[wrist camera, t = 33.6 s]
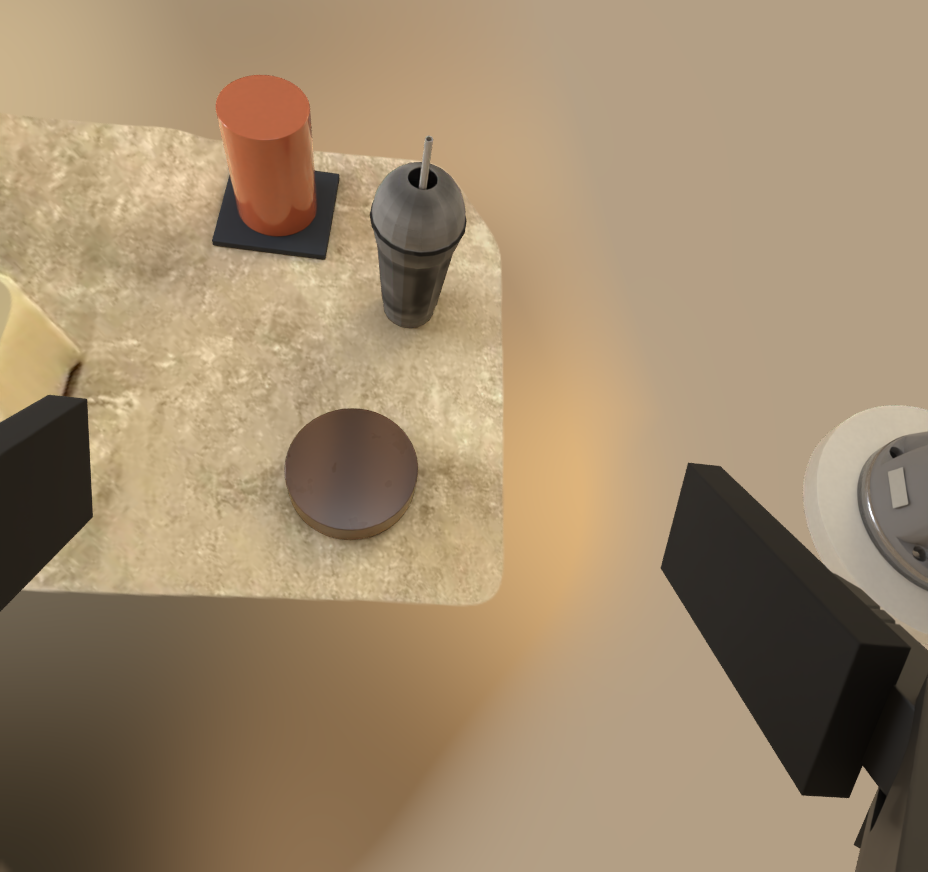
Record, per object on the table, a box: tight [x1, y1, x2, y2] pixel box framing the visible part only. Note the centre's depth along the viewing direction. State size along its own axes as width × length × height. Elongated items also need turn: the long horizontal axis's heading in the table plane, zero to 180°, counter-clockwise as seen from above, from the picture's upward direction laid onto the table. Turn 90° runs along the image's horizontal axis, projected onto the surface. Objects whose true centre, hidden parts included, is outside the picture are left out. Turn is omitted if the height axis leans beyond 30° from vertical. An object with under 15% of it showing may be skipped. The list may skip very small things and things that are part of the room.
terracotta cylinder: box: [216, 75, 317, 236], centre depth 60 cm, size 7×7×11 cm
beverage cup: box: [370, 136, 466, 328], centre depth 54 cm, size 7×7×20 cm
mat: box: [212, 171, 339, 259], centre depth 65 cm, size 10×10×1 cm
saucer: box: [285, 408, 418, 540], centre depth 54 cm, size 10×10×2 cm
